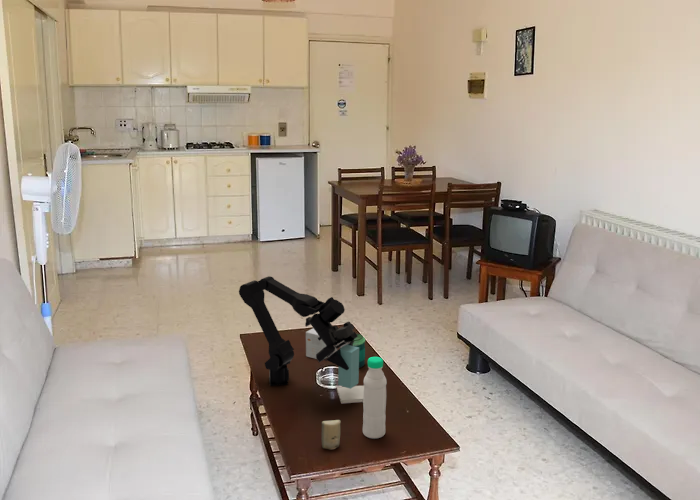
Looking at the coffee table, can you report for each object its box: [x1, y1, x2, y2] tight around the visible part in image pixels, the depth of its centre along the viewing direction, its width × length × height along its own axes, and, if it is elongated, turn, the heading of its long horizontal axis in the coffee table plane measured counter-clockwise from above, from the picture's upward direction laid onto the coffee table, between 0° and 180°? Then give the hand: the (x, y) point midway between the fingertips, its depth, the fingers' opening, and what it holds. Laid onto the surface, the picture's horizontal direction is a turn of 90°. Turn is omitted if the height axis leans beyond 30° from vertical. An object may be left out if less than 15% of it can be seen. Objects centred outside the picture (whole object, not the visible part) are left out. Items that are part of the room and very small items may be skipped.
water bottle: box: [362, 356, 387, 440], centre depth 197 cm, size 7×7×25 cm
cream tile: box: [336, 384, 364, 404], centre depth 224 cm, size 10×10×1 cm
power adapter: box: [321, 419, 342, 450], centre depth 191 cm, size 6×5×8 cm
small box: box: [305, 327, 327, 360], centre depth 256 cm, size 8×6×10 cm
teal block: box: [337, 345, 360, 389], centre depth 216 cm, size 5×5×13 cm
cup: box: [353, 333, 366, 368], centre depth 247 cm, size 8×8×12 cm
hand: (352, 366), depth 216 cm, fingers closed on teal block, 5 cm apart
